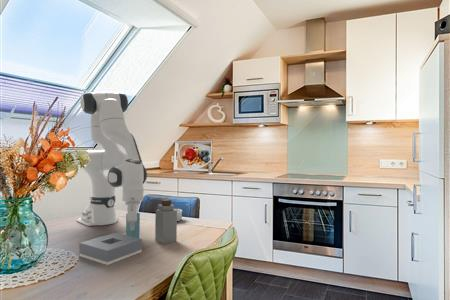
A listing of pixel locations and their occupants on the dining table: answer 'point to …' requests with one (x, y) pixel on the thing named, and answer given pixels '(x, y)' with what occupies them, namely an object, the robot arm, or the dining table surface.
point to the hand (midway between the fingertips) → (132, 227)
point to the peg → (136, 231)
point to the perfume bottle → (166, 222)
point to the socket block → (110, 248)
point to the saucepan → (179, 214)
